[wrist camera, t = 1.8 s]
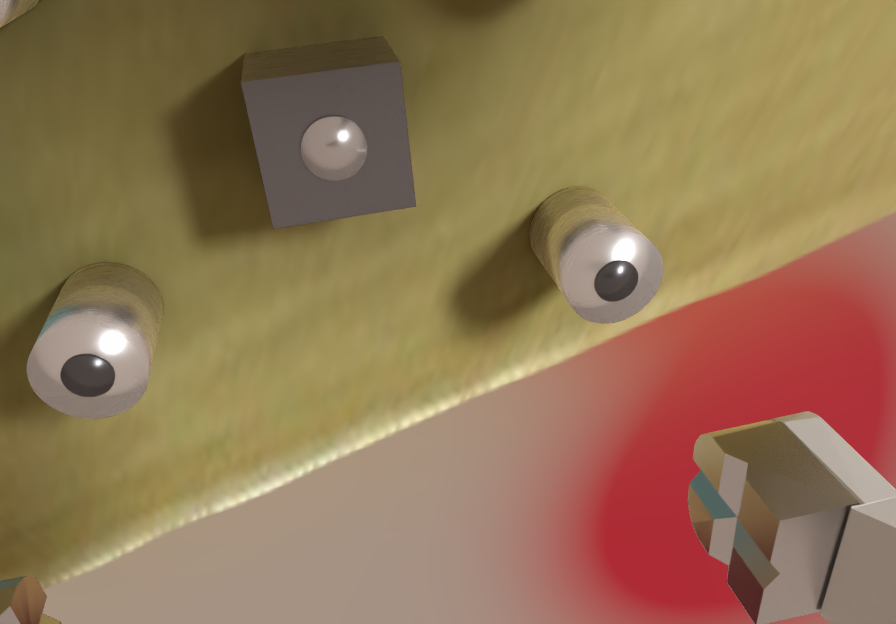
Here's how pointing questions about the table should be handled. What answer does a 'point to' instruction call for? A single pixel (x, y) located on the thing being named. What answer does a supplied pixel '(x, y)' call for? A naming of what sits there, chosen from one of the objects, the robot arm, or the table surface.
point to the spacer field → (141, 305)
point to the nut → (329, 130)
